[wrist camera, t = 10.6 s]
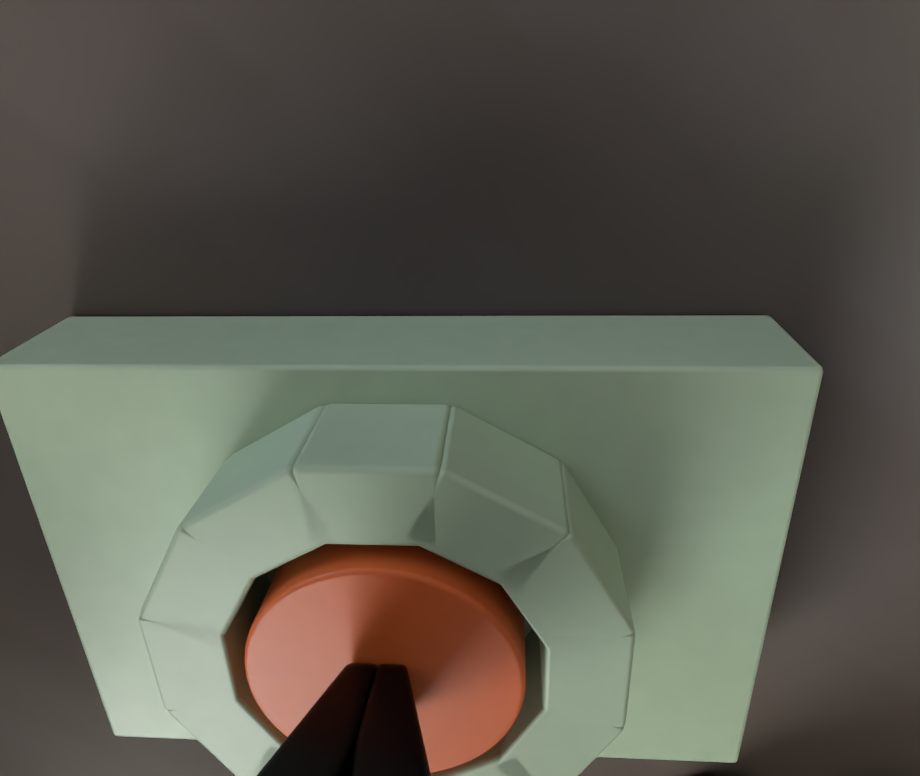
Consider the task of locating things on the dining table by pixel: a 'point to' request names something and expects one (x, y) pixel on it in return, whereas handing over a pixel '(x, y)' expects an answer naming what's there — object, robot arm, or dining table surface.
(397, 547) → the call button
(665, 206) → the dining table surface
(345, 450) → the box
